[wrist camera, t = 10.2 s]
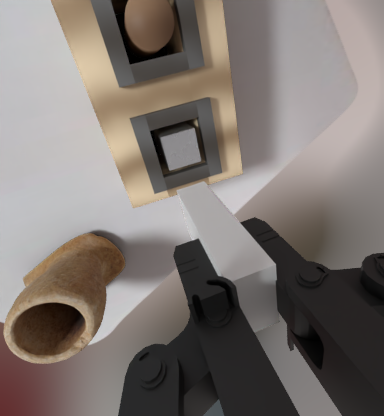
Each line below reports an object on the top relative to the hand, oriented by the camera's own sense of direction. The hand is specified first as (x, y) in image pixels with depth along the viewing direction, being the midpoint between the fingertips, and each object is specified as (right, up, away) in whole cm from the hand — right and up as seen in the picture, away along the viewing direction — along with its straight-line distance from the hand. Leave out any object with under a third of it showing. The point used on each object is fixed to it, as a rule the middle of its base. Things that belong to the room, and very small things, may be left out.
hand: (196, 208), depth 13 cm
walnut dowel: (-6, +19, +15) cm, 25 cm away
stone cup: (-19, -9, +26) cm, 34 cm away
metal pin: (-4, +10, +20) cm, 23 cm away
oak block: (-5, +15, +18) cm, 24 cm away
